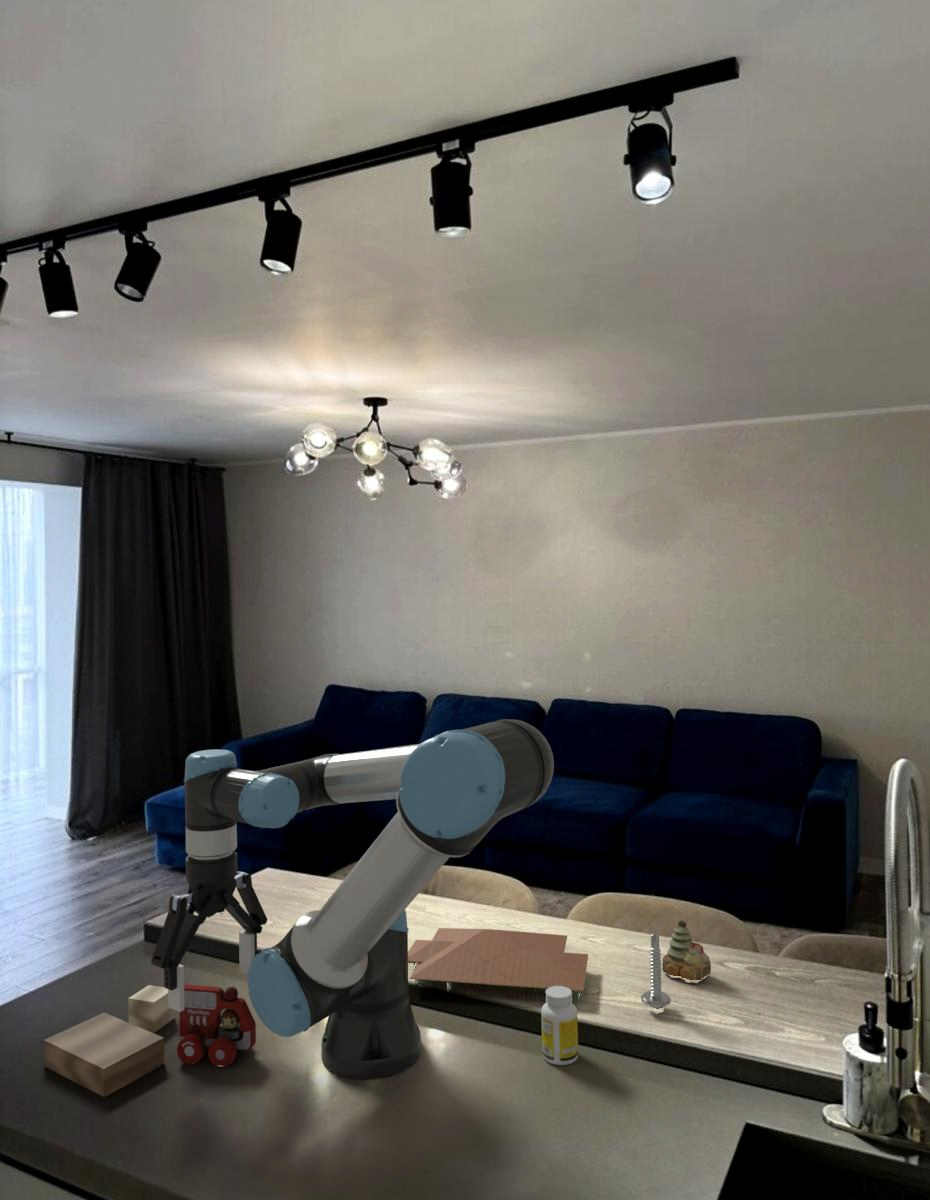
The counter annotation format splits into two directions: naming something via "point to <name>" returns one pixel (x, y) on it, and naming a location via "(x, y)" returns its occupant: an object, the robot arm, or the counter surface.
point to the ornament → (686, 956)
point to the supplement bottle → (559, 1027)
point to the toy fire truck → (214, 1025)
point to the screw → (655, 978)
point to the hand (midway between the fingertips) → (213, 990)
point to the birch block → (150, 1008)
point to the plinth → (104, 1053)
